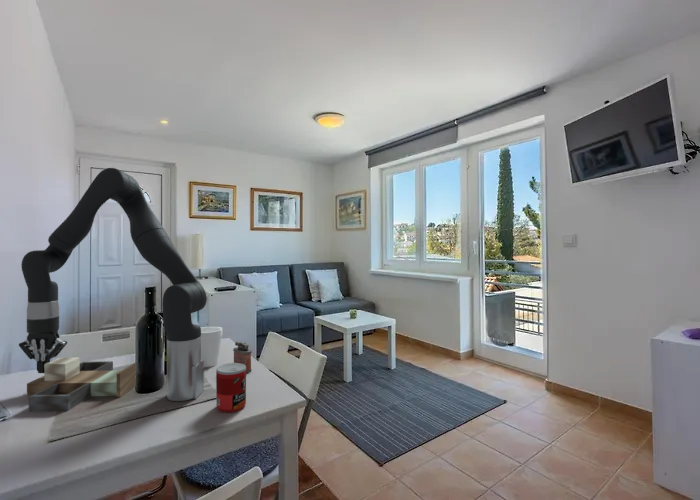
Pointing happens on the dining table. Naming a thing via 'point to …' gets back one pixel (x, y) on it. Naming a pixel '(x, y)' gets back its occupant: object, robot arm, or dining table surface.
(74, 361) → the block
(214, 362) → the foam cup
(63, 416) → the dining table surface
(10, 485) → the dining table surface
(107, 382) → the box
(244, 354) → the lighter
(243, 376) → the canned food
